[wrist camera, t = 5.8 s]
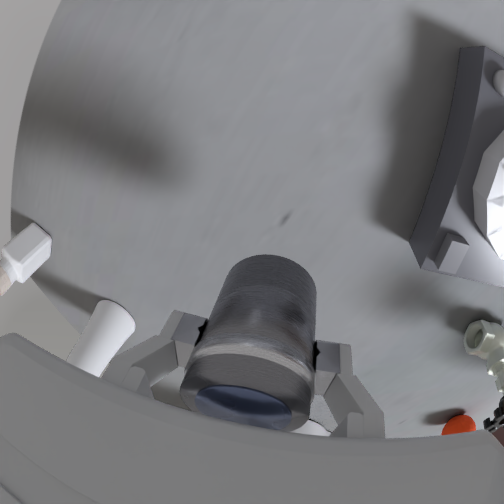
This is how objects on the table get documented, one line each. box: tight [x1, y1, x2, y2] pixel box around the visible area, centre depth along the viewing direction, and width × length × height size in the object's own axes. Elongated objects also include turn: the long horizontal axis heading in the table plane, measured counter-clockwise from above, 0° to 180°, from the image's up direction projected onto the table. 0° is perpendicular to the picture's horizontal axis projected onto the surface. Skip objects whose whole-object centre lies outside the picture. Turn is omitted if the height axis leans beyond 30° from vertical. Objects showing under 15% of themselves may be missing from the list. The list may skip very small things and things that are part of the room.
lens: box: [180, 255, 316, 432], centre depth 12 cm, size 5×5×7 cm
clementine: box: [442, 415, 476, 435], centre depth 33 cm, size 8×7×7 cm
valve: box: [463, 320, 504, 433], centre depth 19 cm, size 7×7×12 cm
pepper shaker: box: [0, 223, 52, 295], centre depth 26 cm, size 4×4×10 cm
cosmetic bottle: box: [66, 300, 135, 377], centre depth 25 cm, size 6×6×22 cm
